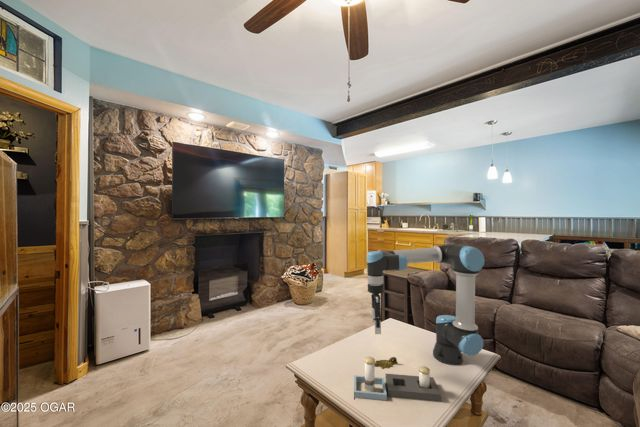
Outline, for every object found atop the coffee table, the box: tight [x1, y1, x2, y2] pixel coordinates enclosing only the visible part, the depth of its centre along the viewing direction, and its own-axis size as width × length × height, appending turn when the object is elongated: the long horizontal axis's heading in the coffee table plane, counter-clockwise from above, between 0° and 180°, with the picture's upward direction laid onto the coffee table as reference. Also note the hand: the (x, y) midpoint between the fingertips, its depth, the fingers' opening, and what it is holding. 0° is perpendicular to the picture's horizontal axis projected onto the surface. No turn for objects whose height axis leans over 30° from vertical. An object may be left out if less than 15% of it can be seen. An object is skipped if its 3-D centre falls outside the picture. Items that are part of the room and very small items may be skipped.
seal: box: [375, 356, 399, 370], centre depth 141 cm, size 9×5×15 cm
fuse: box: [418, 365, 431, 389], centre depth 120 cm, size 5×5×10 cm
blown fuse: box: [363, 356, 376, 392], centre depth 121 cm, size 5×5×14 cm
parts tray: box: [353, 375, 388, 401], centre depth 121 cm, size 14×12×3 cm
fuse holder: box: [385, 373, 442, 403], centre depth 120 cm, size 22×12×4 cm, turn 82°
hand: (376, 327), depth 128 cm, fingers open, 13 cm apart
